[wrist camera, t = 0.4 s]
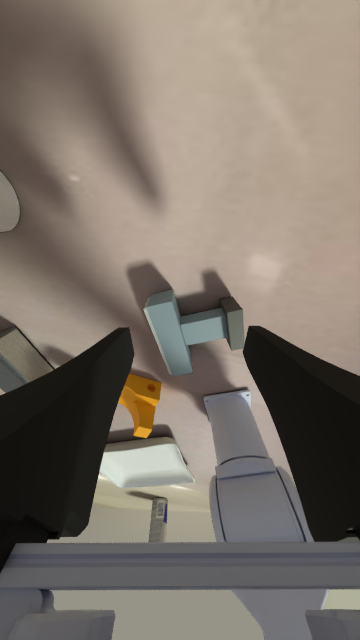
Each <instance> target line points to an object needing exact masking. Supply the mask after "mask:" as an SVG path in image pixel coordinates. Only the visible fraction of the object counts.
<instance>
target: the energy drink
mask: <svg viewBox="0 0 360 640" xmlns="http://www.w3.org/2000/svg"><path fill="white" fill-rule="evenodd" d="M167 504H168V501H167V499H166V498H162V497H158V498H154V499H153V503H152V513H151V523H150V534H149V543H166V527H167Z"/></svg>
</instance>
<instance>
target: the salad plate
mask: <svg viewBox="0 0 360 640" xmlns="http://www.w3.org/2000/svg"><path fill="white" fill-rule="evenodd" d="M99 472H100V473H102V474H103V475H104V476H105V477H106V478H108V479H109V480H110V481H112V482H113V483H114V484H115V485H117V486H118V487H120V488H136V487H155V486H168V485H177V484H187V483H194V482H195V480H194V477H193V475H192V474H191V472H190V470H189V469H188V467H187V466H186V464H185V462H184V460H183V458H182V455H181V452H180V450H179V448H178V446H177V444H176V442H175V441H174V440H173V439H172V438H169V437H156V438H148V439H139V440H132V441H124V442H117V443H110V444H106V446H105V450H104V454H103V458H102V462H101V467H100V471H99Z"/></svg>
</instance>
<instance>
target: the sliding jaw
mask: <svg viewBox="0 0 360 640" xmlns="http://www.w3.org/2000/svg"><path fill="white" fill-rule="evenodd" d="M219 300H220V307H221V308H218V309H213V310H209V311H204V312H199V313H195V314H190V315H186V316H180V312H179V309H178V305H177V301H176V298H175V294H174V291H173V289H172V290H168V291H164V292H160V293H156V294H151V297H150V298H148V300H147V302H146V304H145V306H144V309H143V310H144V312H145V315H146V317H147V320H148V322H149V325H150V327H151V330H152V332H153V335H154V337H155V340H156V342H157V345H158V347H159V350H160V352H161V355H162V357H163V360H164V362H165V365H166V367H167V370H168V372H169V375H171V374H172V376H178V375H184V374H190V373H193V369H192V358H191V352H190V348H189V345H192V344H197V343H202V342H207V341H212V340H217V339H223V338H226V339H227V342H228V344H229V346H230V349H231V351H232V350H237V349H243V348H244V345H245V344H244V326H243V309H242V308H241V307H240V306H239V304H238V303H237V302H236V301H235V299H234V298H233V297H227V298H223V299H219Z"/></svg>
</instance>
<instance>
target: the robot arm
mask: <svg viewBox="0 0 360 640" xmlns="http://www.w3.org/2000/svg"><path fill="white" fill-rule="evenodd" d="M243 355H244V358H245V361H246V364H247V367H248V369H249V371H250V373H251V375H252V377H253V379H254V381H255V383H256V385H257V387H258V389H259V391H260V393H261V395H262V397H263V399H264V401H265V403H266V405H267V407H268V409H269V411H270V414H271V417H272V419H273V422H274V424H275V427H276V429H277V432H278V435H279V437H280V440H281V443H282V446H283V449H284V451H285V454H286V457H287V460H288V463H289V466H290V469H291V472H292V475H293V478H294V481H295V485H296V487H295V485H294V483H293V481H292V479H291V477H290V475H289V474H288V472H286V471H285V470H284V469H282V467H281V466H277V467H275V465H274V462H273V460H272V458H270V457H269V454H268V452H267V449H266V447H265V444H264V442H263V439H262V437H261V434H260V432H259V429H258V427H257V424H256V422H255V419H254V416H253V414H252V411H251V394H250V390H241V391H235V392H228V393H222V394H215V395H209V396H204V397H203V399H204V403H205V407H206V410H207V414H208V417H209V421H210V425H211V427H212V433H213V439H214V446H215V452H216V458H217V464H218V466H216V467H215V470H216V475H214V476H212V479H211V482H210V484H209V501H210V510H211V517H212V522H213V528H214V533H215V537H216V541H217V542H197V543H196V542H193V543H192V542H187V543H183V542H181V543H46V542H47V540H48V539H59V538H60V537H77V536H78V535H79V534H81V532H82V531H83V530H84V529H85V528H86V526H87V525H88V522H89V517H90V512H91V508H92V503H93V498H94V493H95V489H96V484H97V479H98V475H99V471H100V467H101V462H102V458H103V454H104V450H105V446H106V442H107V438H108V434H109V430H110V427H111V423H112V420H113V416H114V413H115V410H116V407H117V404H118V401H119V398H120V396H121V393H122V391H123V388H124V386H125V383H126V380H127V378H128V375H129V372H130V370H131V366H132V362H133V358H134V349H133V344H132V339H131V334H130V329H129V327H128V328H118V329H116V330H114V331H113V332H112V333H110V334H109V335H107V336H106V337H105V338H103V339H102V340H100V341H99V342H98V343H96V344H95V345H93V346H92V347H90V348H89V349H87V350H86V351H84V352H83V353H81V354H80V355H78V356H77V357H75V358H74V359H72V360H70V361H69V362H67V363H65V364H63V365H62V366H60V367H58V368H56V369H54V370H53V371H51V372H49V373H47V374H45V375H43V376H41V377H39V378H37V379H35V380H33V381H31V382H29V383H27V384H25V385H23V386H21V387H18V388H16V389H14V390H12V391H10V392H7V393H5V394H3V395H0V640H111V638H112V632H113V626H114V620H115V613H114V610H61V611H60V610H59V611H56V610H55V609H54V607H53V602H54V597H53V594H52V591H49V590H232V592H233V593H234V594H235V595H236V596H237V598H238V599H239V600H240V601H241V602H242V603H243V605H244V606H245V607H246V608H247V610H248V611H249V612H250V613H251V615H252V616H253V617H254V618H255V619H256V621H257V622H258V624H259V625H260V626H261V628H262V631H263V635H264V640H360V610H344V609H325V610H324V609H323V607H324V604H325V601H326V598H327V595H328V592H329V589H360V376H358V375H356V374H353V373H351V372H348V371H346V370H344V369H342V368H339V367H337V366H335V365H333V364H330V363H328V362H326V361H324V360H322V359H320V358H318V357H316V356H314V355H312V354H310V353H308V352H306V351H304V350H302V349H300V348H298V347H297V346H295V345H293V344H291V343H289V342H288V341H286V340H284V339H282V338H281V337H279V336H277V335H275V334H274V333H272V332H270V331H268V330H267V329H265V328H263V327H261V326H249V328H248V332H247V336H246V341H245V345H244V349H243ZM296 488H297V489H296Z"/></svg>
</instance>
